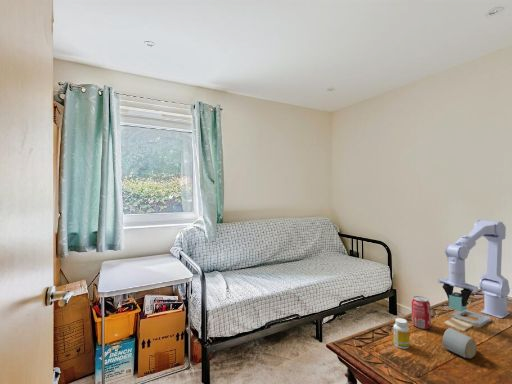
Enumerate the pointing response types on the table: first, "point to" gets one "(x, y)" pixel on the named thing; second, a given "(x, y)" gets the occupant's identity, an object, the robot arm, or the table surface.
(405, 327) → the supplement bottle
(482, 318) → the block
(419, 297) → the soda can
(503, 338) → the table surface
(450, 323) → the cork coaster
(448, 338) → the grey cylinder
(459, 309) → the teal cube with dome
